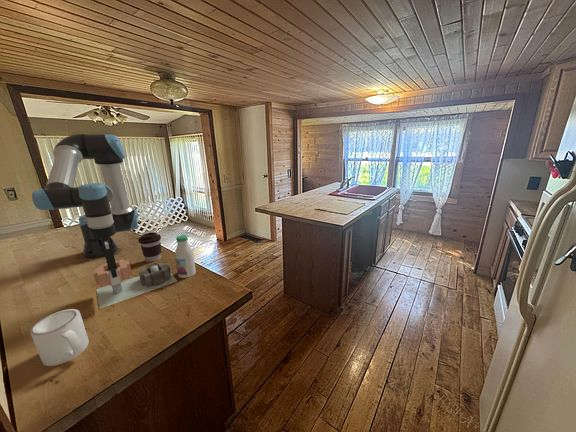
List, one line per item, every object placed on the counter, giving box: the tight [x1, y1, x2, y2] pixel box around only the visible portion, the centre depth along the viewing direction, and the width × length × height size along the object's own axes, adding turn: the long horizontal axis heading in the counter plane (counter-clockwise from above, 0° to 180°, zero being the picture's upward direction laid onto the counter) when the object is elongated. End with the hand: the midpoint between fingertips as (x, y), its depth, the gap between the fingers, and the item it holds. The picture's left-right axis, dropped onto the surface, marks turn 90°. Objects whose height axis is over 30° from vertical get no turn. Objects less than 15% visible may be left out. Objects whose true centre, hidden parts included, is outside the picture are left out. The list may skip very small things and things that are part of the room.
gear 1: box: [92, 258, 133, 288], centre depth 90 cm, size 11×11×5 cm
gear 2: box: [138, 261, 172, 287], centre depth 101 cm, size 11×11×5 cm
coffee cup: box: [137, 231, 162, 263], centre depth 119 cm, size 10×10×15 cm
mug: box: [29, 308, 90, 367], centre depth 66 cm, size 14×10×11 cm
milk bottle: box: [174, 234, 197, 279], centre depth 104 cm, size 8×8×20 cm
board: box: [96, 266, 178, 310], centre depth 97 cm, size 16×27×8 cm, turn 132°
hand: (114, 277), depth 91 cm, fingers closed on gear 1, 11 cm apart
